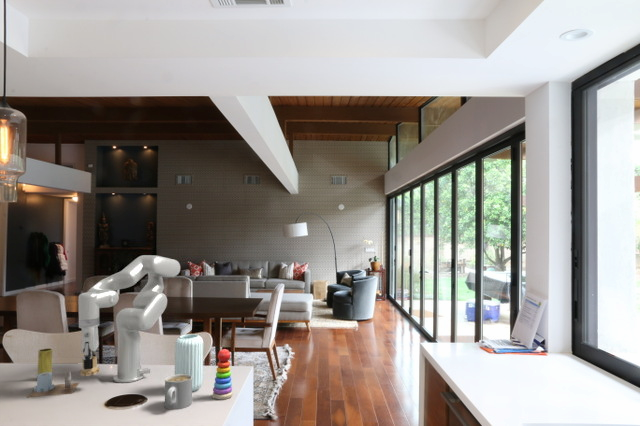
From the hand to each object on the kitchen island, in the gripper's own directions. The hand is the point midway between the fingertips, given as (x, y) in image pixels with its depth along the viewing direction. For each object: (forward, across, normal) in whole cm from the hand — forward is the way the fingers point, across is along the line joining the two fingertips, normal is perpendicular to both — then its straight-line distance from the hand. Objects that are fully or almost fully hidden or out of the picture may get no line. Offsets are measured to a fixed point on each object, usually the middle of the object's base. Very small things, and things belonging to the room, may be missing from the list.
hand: (89, 366), depth 184 cm
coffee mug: (+11, -25, -34) cm, 44 cm away
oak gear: (+3, 0, 0) cm, 3 cm away
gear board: (+11, +4, +14) cm, 18 cm away
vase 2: (+12, -7, -39) cm, 41 cm away
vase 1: (+11, +21, +22) cm, 32 cm away
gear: (+9, +6, +18) cm, 21 cm away
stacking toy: (+12, -20, -52) cm, 57 cm away
